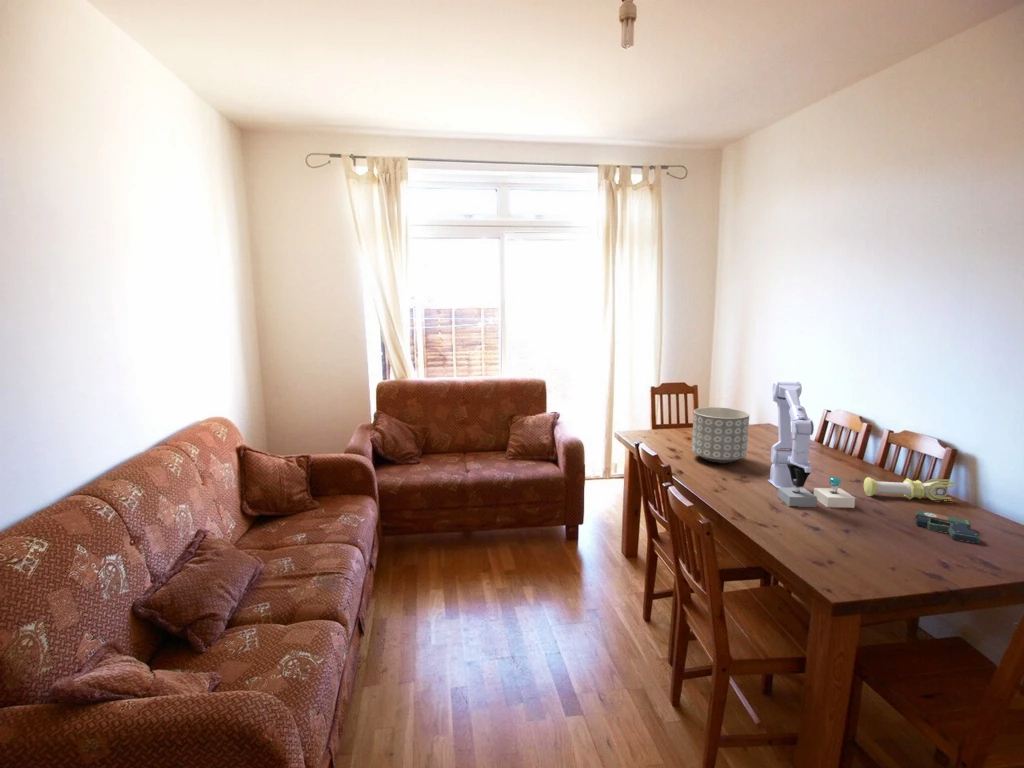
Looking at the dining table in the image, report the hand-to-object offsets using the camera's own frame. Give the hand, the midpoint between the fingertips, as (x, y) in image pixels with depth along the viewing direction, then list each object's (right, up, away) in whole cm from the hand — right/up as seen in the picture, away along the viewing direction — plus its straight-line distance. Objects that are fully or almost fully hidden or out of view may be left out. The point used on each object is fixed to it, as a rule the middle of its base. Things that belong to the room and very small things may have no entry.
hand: (797, 484), depth 200 cm
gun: (+37, -11, -24) cm, 46 cm away
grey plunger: (0, -4, +1) cm, 4 cm away
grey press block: (0, -7, +1) cm, 7 cm away
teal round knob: (+14, -4, 0) cm, 14 cm away
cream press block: (+14, -7, 0) cm, 16 cm away
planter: (-9, +1, +54) cm, 55 cm away
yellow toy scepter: (+46, -7, +5) cm, 46 cm away
